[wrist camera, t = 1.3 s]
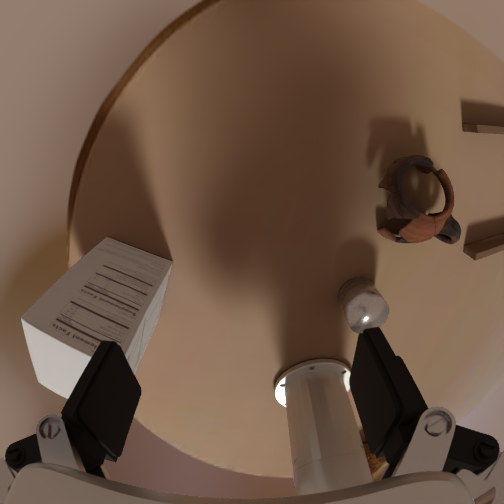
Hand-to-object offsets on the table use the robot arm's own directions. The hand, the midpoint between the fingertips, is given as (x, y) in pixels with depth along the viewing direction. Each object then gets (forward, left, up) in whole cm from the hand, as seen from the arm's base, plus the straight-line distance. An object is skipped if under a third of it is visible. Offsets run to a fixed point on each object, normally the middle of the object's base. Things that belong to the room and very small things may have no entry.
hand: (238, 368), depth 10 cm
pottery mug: (-2, -19, -21) cm, 29 cm away
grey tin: (-13, -11, -21) cm, 27 cm away
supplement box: (-5, +16, -21) cm, 27 cm away
